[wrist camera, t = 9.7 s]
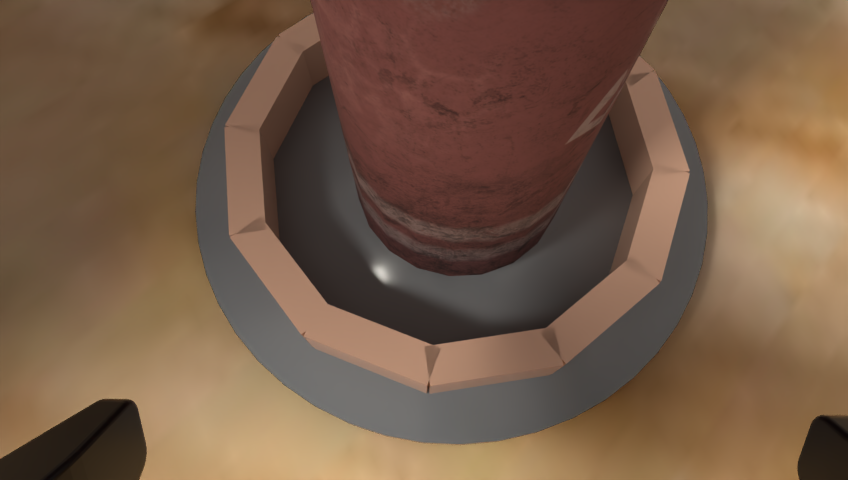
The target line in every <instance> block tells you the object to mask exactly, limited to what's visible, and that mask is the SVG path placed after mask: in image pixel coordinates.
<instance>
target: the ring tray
mask: <svg viewBox="0 0 848 480" xmlns="http://www.w3.org/2000/svg"><path fill="white" fill-rule="evenodd" d="M278 35H279V37H278V36H276V38H275V40H274V41H273V42H272V43H271V44H269V45H268V46H267V47H266V48H265V49H264V50H263V51H262V52H261V53H260V54H259V55H258V56H257V57H256V58H255V59H254V61H253V62H252V63H251V64H250V65H249V66H248V67H247V68H246V70H245V71H244V72H243V73H242V74H241V76H240V77H239V79H238V80H237V82H236V83H235V84H234V86H233V87H232V89H231V90H230V92H229V93H228V95H227V96H226V98H225V100H224V102H223V104H222V106H221V108H220V110H219V112H218V114H217V116H216V118H215V120H214V122H213V124H212V126H211V129H210V132H209V135H208V138H207V141H206V144H205V147H204V150H203V153H202V158H201V163H200V168H199V173H198V179H197V191H196V211H195V212H196V222H197V233H198V243H199V247H200V251H201V255H202V259H203V263H204V267H205V271H206V275H207V277H208V280H209V282H210V284H211V287H212V289H213V292H214V294H215V297H216V299H217V302H218V304H219V306H220V307H221V309H222V311H223V313H224V314H225V316H226V318H227V319H228V321H229V323H230V324H231V326H232V328H233V329H234V331H235V333H236V334H237V335H238V337H239V338H240V339H241V340H242V342H243V343H244V344H245V345H246V346H247V348H248V349H249V350H250V351H251V353H252V354H253V355H254V356H255V358H256V359H257V360H258V361H259V362H260V363H261V364H262V365H263V366H264V367H265V368H266V369H268V370H269V371H270V372H271V373H272V374H273V375H274V376H275V377H276V378H277V379H278V380H279V381H281V382H282V383H283V384H284V385H285V386H287V387H288V388H289V389H291V390H292V391H294V392H295V393H297V394H298V395H300V396H301V397H302V398H304V399H305V400H307V401H308V402H310V403H311V404H313V405H314V406H316V407H318V408H319V409H321V410H323V411H325V412H327V413H329V414H331V415H334V416H336V417H338V418H340V419H342V420H344V421H346V422H348V423H350V424H352V425H354V426H357V427H360V428H363V429H366V430H369V431H372V432H375V433H378V434H381V435H384V436H388V437H393V438H398V439H403V440H409V441H414V442H419V443H430V444H451V445H465V444H476V443H487V442H497V441H502V440H506V439H510V438H514V437H519V436H523V435H527V434H532V433H535V432H538V431H541V430H544V429H546V428H549V427H551V426H554V425H556V424H559V423H562V422H564V421H567V420H569V419H572V418H574V417H576V416H577V415H579V414H581V413H583V412H585V411H586V410H588V409H590V408H592V407H593V406H595V405H597V404H599V403H601V402H602V401H604V400H606V399H607V398H608V397H609V396H611V395H612V394H613V393H615V392H616V391H617V390H618V389H620V388H621V387H622V386H624V385H625V384H626V383H628V382H629V381H630V380H631V379H633V378H634V377H635V376H636V375H637V374H638V373H639V372H640V370H641V369H642V368H643V367H644V366H645V365H646V364H647V363H648V362H649V361H650V360H651V359H652V358H653V357H654V356H655V355H656V354H657V353H658V351H659V350H660V348H661V347H662V346H663V344H664V343H665V341H666V340H667V339H668V337H669V336H670V334H671V333H672V332H673V330H674V329H675V327H676V326H677V324H678V322H679V320H680V318H681V316H682V314H683V312H684V310H685V308H686V306H687V304H688V302H689V300H690V298H691V296H692V294H693V291H694V287H695V284H696V281H697V278H698V275H699V272H700V269H701V266H702V261H703V255H704V249H705V243H706V237H707V207H708V202H707V194H706V186H705V179H704V172H703V168H702V164H701V161H700V157H699V153H698V150H697V146H696V143H695V140H694V138H693V136H692V133H691V131H690V129H689V126H688V124H687V122H686V119H685V117H684V115H683V113H682V112H681V110H680V108H679V106H678V105H677V103H676V101H675V100H674V98H673V96H672V95H671V93H670V91H669V90H668V88H667V87H666V86H665V84H664V83H663V82H662V81H661V79H660V78H659V77H658V75H657V73H656V71H655V72H654V68H653V67H652V66H650V65H649V64H648V63H647V62H646V61H645V60H644V59H643V58H642V57H641V56H640V55H639V57H638V59H637V61H636V63H635V64H634V66H633V68H632V70H631V72H630V74H629V76H628V78H627V80H626V82H625V83H624V85H623V87H622V89H621V91H620V93H619V95H618V97H617V99H616V100H615V102H614V104H613V106H612V108H611V110H610V112H609V114H608V116H607V118H606V119H605V121H604V123H603V125H602V127H601V129H600V131H599V133H598V135H597V136H596V138H595V140H594V142H593V144H592V146H591V148H590V150H589V152H588V154H587V155H586V157H585V159H584V161H583V163H582V165H581V167H580V169H579V171H578V172H577V174H576V176H575V178H574V180H573V182H572V184H571V186H570V188H569V189H568V191H567V193H566V195H565V197H564V199H563V201H562V203H561V205H560V207H559V208H558V210H557V212H556V214H555V216H554V218H553V220H552V221H551V223H550V224H549V226H548V228H547V229H546V231H545V232H544V234H543V236H542V237H541V239H540V240H539V242H538V244H536V245H535V246H534V247H533V248H531V249H530V250H529V251H528V252H526V253H525V254H524V255H523V256H521V257H520V258H519V259H518V260H516V261H515V262H514V263H512V264H510V265H507V266H504V267H501V268H499V269H496V270H493V271H491V272H488V273H485V274H483V275H463V276H446V275H443V274H439V273H435V272H431V271H427V270H423V269H419V268H416V267H415V266H413V265H411V264H410V263H408V262H407V261H405V260H403V259H402V258H400V257H399V256H397V255H395V254H394V253H392V252H391V251H389V250H388V249H387V247H386V246H385V245H384V244H383V243H382V241H381V240H380V239H379V238H378V237H377V235H376V234H375V233H374V232H373V231H372V229H371V228H370V227H369V225H368V222H367V219H366V217H365V214H364V211H363V209H362V206H361V203H360V201H359V198H358V193H357V189H356V185H355V181H354V177H353V173H352V169H351V165H350V161H349V156H348V152H347V148H346V144H345V140H344V136H343V132H342V128H341V124H340V119H339V115H338V111H337V107H336V103H335V99H334V95H333V91H332V87H331V82H330V78H329V74H328V70H327V66H326V62H325V58H324V54H323V50H322V45H321V41H320V37H319V33H318V29H317V25H316V21H315V17H314V13H312V14H310V15H308V16H306V17H305V18H303V19H302V20H300V21H299V22H298V23H296V24H294V25H293V26H291V27H289V28H288V29H286V30H285V31H283V32H281V33H280V34H278Z"/></svg>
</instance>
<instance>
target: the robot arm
mask: <svg viewBox="0 0 848 480" xmlns="http://www.w3.org/2000/svg"><path fill="white" fill-rule="evenodd" d="M146 454H147V448H146V442H145V438H144V433H143V429H142V425H141V420H140V416H139V411H138V408H137V405H136V404H135V403H134V402H133V401H131V400H129V399H102V400H99V401H97V402H95V403H93V404H92V405H90V406H88V407H87V408H85V409H83V410H82V411H80V412H78V413H77V414H75V415H73V416H72V417H70V418H68V419H67V420H65V421H63V422H62V423H60V424H58V425H56V426H55V427H53V428H51V429H50V430H48V431H46V432H45V433H43V434H41V435H40V436H38V437H36V438H35V439H33V440H31V441H30V442H28V443H26V444H25V445H23V446H21V447H19V448H18V449H16V450H14V451H13V452H11V453H9V454H8V455H6V456H4V457H3V458H1V459H0V480H139V479H140V476H141V474H142V471H143V468H144V465H145V461H146ZM798 476H799V479H800V480H848V416H847V415H820V416H817V417H816V418H815V419H814V420H813V421H812V423H811V426H810V429H809V431H808V434H807V437H806V440H805V443H804V446H803V448H802V451H801V454H800V457H799V460H798Z"/></svg>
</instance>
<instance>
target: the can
mask: <svg viewBox="0 0 848 480" xmlns="http://www.w3.org/2000/svg"><path fill="white" fill-rule="evenodd" d="M667 2H668V0H311V4H312V8H313V13H314V17H315V21H316V25H317V29H318V33H319V37H320V41H321V45H322V50H323V54H324V58H325V62H326V66H327V70H328V74H329V78H330V82H331V87H332V91H333V95H334V99H335V103H336V107H337V111H338V115H339V119H340V124H341V128H342V132H343V136H344V140H345V144H346V148H347V152H348V156H349V161H350V165H351V169H352V173H353V177H354V181H355V185H356V189H357V193H358V198H359V201H360V203H361V206H362V209H363V211H364V214H365V217H366V219H367V222H368V225H369V227H370V228H371V229H372V231H373V232H374V233H375V234H376V235H377V237H378V238H379V239H380V240H381V241H382V243H383V244H384V245H385V246H386V247H387V249H388V250H389V251H391V252H392V253H394V254H395V255H397V256H399V257H400V258H402V259H403V260H405V261H407V262H408V263H410V264H411V265H413V266H415V267H416V268H419V269H423V270H427V271H431V272H435V273H439V274H443V275H446V276H463V275H483V274H485V273H488V272H491V271H493V270H496V269H499V268H501V267H504V266H507V265H510V264H512V263H514V262H515V261H516V260H518V259H519V258H520V257H521V256H523V255H524V254H525V253H526V252H528V251H529V250H530V249H531V248H533V247H534V246H535V245H536V244H538V242H539V240H540V239H541V237H542V236H543V234H544V232H545V231H546V229H547V228H548V226H549V224H550V223H551V221H552V220H553V218H554V216H555V214H556V212H557V210H558V208H559V207H560V205H561V203H562V201H563V199H564V197H565V195H566V193H567V191H568V189H569V188H570V186H571V184H572V182H573V180H574V178H575V176H576V174H577V172H578V171H579V169H580V167H581V165H582V163H583V161H584V159H585V157H586V155H587V154H588V152H589V150H590V148H591V146H592V144H593V142H594V140H595V138H596V136H597V135H598V133H599V131H600V129H601V127H602V125H603V123H604V121H605V119H606V118H607V116H608V114H609V112H610V110H611V108H612V106H613V104H614V102H615V100H616V99H617V97H618V95H619V93H620V91H621V89H622V87H623V85H624V83H625V82H626V80H627V78H628V76H629V74H630V72H631V70H632V68H633V66H634V64H635V63H636V61H637V59H638V57H639V55H640V53H641V51H642V49H643V47H644V46H645V44H646V42H647V40H648V38H649V36H650V34H651V32H652V30H653V28H654V27H655V25H656V23H657V21H658V19H659V17H660V15H661V13H662V11H663V10H664V8H665V6H666V4H667Z"/></svg>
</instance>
